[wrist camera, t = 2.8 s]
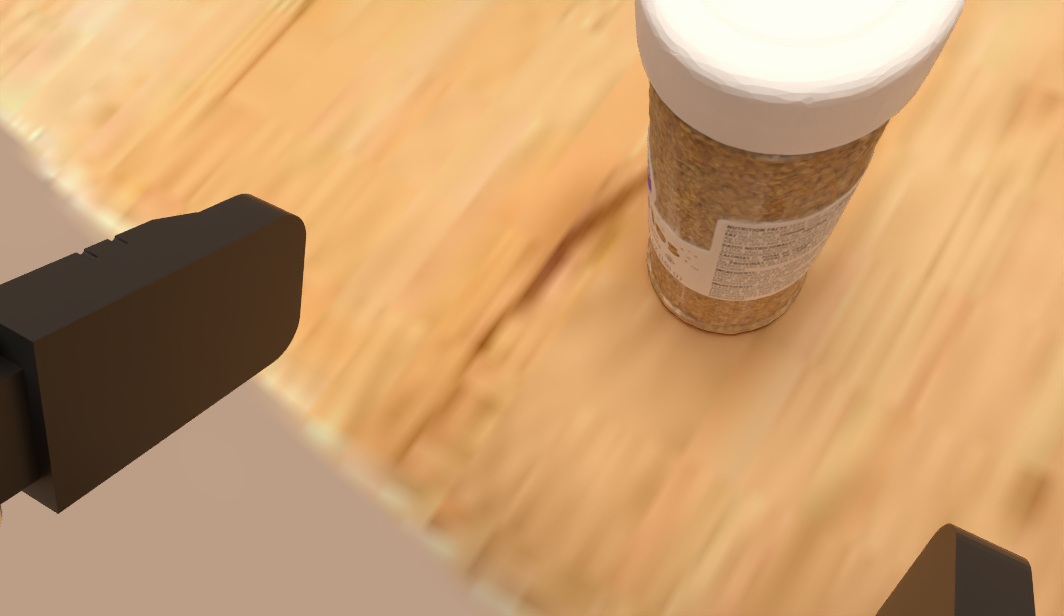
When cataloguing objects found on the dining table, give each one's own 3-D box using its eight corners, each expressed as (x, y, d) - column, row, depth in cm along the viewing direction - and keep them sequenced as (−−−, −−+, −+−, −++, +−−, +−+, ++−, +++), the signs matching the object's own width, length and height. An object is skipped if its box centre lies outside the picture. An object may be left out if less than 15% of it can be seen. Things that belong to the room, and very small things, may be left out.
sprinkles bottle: (635, 205, 25) (610, -158, 12) (789, 179, 24) (934, -228, 12) (660, 351, 23) (661, 120, 11) (823, 327, 23) (1030, 54, 10)
